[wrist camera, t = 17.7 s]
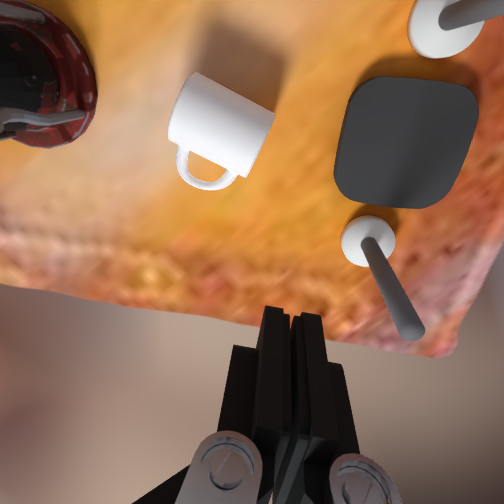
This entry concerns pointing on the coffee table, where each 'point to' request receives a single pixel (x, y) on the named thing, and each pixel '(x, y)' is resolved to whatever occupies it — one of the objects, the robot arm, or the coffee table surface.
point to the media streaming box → (404, 141)
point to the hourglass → (42, 78)
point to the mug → (217, 129)
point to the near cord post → (448, 24)
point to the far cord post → (381, 269)
